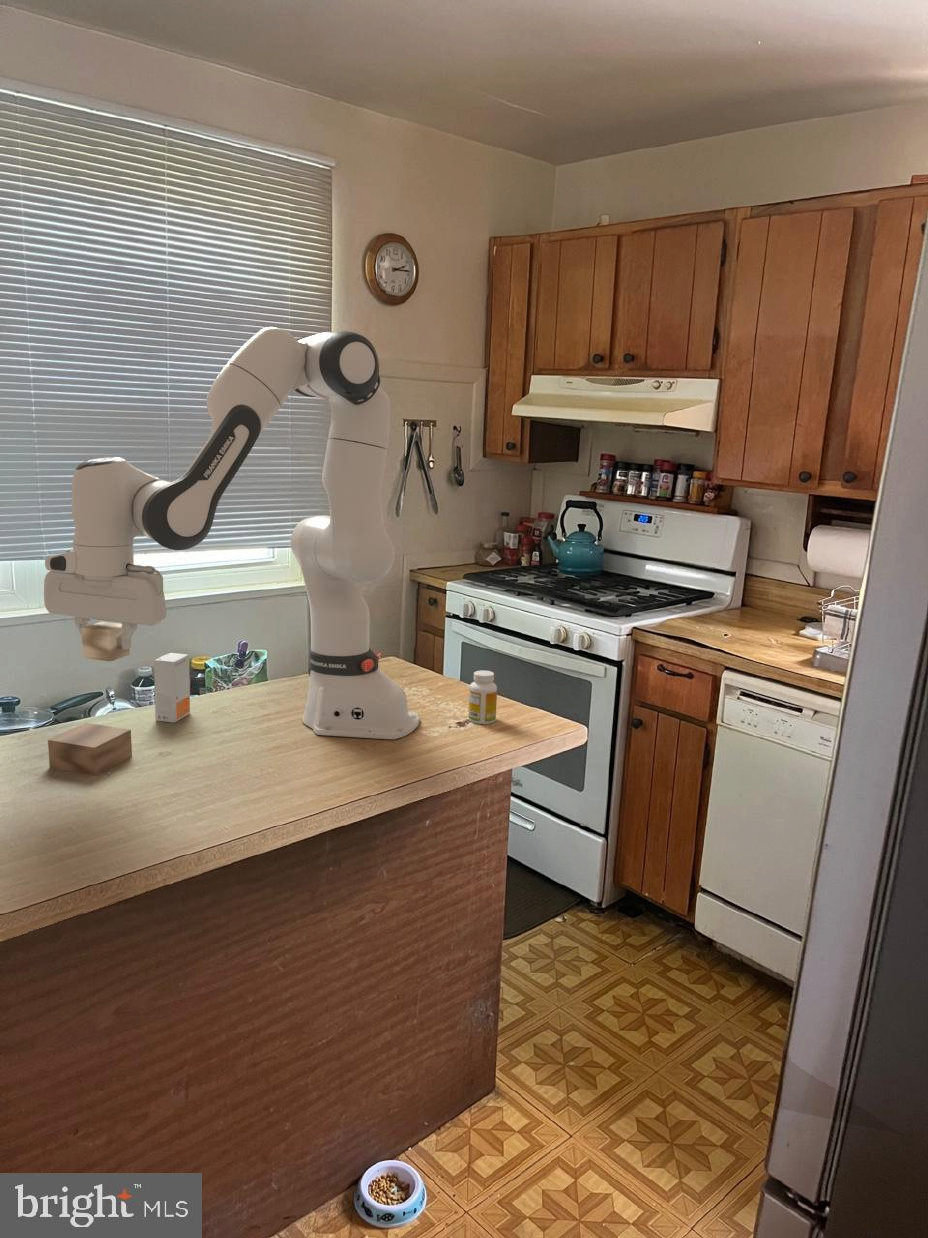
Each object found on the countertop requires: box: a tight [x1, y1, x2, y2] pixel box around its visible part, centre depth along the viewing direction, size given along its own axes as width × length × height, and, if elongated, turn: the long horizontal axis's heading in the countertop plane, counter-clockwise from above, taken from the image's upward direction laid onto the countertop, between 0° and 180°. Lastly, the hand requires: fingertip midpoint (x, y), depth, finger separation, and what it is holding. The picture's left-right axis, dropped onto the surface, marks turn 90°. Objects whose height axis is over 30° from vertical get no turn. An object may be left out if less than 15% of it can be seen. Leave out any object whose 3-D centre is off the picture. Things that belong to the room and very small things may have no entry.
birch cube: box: [81, 620, 131, 663], centre depth 144 cm, size 5×5×5 cm
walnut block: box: [47, 722, 133, 776], centre depth 148 cm, size 9×9×5 cm
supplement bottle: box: [468, 670, 498, 725], centre depth 175 cm, size 5×5×10 cm
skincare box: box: [153, 652, 191, 723], centre depth 170 cm, size 6×4×12 cm
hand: (106, 646), depth 144 cm, fingers closed on birch cube, 5 cm apart
